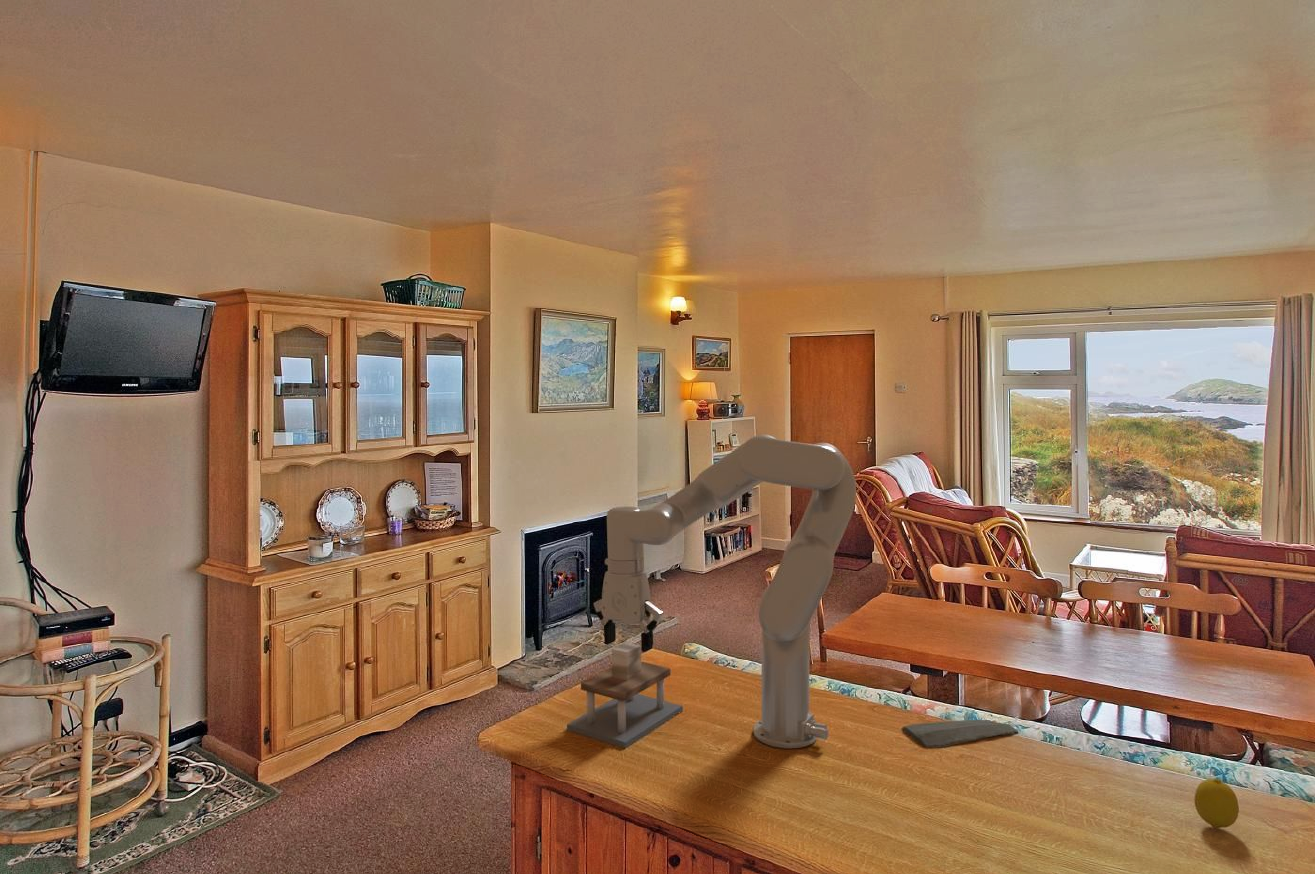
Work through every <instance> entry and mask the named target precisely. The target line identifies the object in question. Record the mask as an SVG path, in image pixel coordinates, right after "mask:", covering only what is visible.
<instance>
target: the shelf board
mask: <svg viewBox="0 0 1315 874" xmlns="http://www.w3.org/2000/svg"><path fill="white" fill-rule="evenodd" d="M670 676H671V668H670V667H666V666H661V665H657V664H654V663H649V662H645V661H642V650H641V645H640V644H634V643H632V642H631V643H630V642H624V643H622V644H619V645H617V646H615V647H613V648H611V667H610V668H608V669H605V670H604V671H601V672H599V673H597V674H595V675H593V676H591V677H590V678H587V679H584V680H583V681H581V682H580V690H581V691H583V692H587V691H588V692H591V693H595V695H600V696H603V697H606V698H610V699H617V700H620V701H626V700H627V699H629V698H631V697H633V696H634V695H636V694H640V693H641V692H644V691H645V690H647V689H649V688H651V687H652V686H654V685H657V682H659V681H661V680H663V679H664V680H665V679H666V678H668V677H670Z"/></svg>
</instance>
